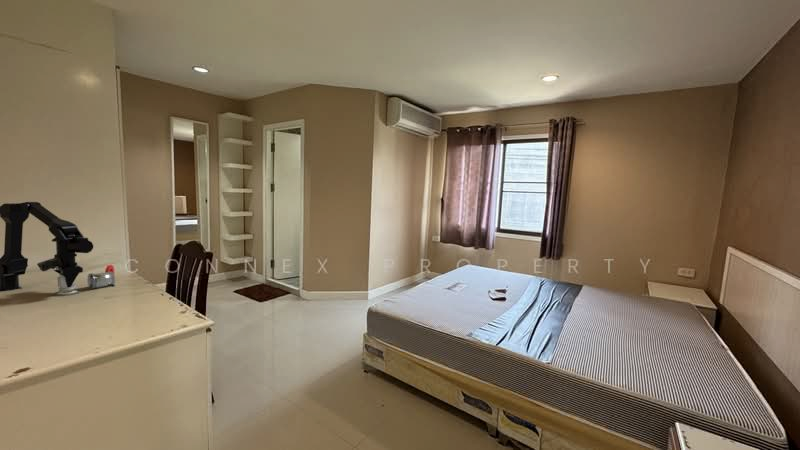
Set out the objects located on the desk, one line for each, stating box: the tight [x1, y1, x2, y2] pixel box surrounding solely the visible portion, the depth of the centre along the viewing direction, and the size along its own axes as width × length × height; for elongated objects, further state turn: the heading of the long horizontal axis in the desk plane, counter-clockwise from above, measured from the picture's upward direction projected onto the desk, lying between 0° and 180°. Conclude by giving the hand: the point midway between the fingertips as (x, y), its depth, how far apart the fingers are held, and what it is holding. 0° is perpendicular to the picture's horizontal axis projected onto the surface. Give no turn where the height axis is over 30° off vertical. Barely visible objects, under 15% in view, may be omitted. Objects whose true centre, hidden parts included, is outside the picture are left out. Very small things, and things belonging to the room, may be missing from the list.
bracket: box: [104, 264, 115, 275], centre depth 162 cm, size 12×4×8 cm, turn 22°
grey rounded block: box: [87, 272, 116, 290], centre depth 152 cm, size 8×8×7 cm
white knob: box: [57, 274, 77, 291], centre depth 142 cm, size 6×5×7 cm
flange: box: [52, 288, 83, 297], centre depth 143 cm, size 9×9×1 cm
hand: (67, 286), depth 143 cm, fingers closed on white knob, 4 cm apart
